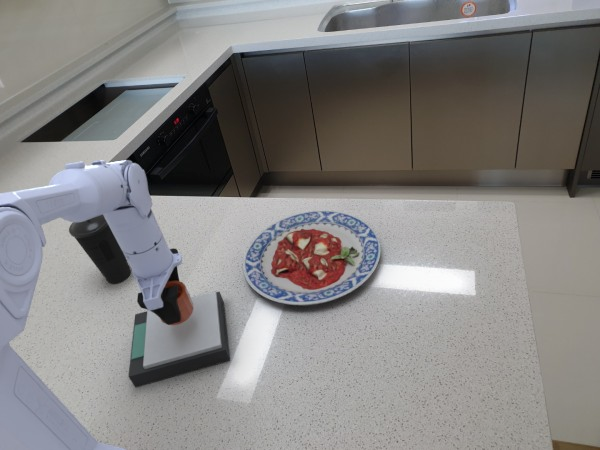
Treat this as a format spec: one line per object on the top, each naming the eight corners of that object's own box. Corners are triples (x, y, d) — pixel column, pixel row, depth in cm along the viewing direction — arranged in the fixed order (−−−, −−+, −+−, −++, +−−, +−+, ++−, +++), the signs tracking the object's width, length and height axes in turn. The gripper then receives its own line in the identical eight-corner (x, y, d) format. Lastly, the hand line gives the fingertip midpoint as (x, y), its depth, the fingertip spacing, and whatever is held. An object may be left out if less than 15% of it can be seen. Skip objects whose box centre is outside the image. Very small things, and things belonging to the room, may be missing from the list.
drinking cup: (143, 261, 95) (103, 180, 83) (128, 288, 89) (82, 205, 77) (110, 263, 97) (66, 183, 85) (93, 289, 91) (42, 208, 79)
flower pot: (160, 330, 70) (149, 311, 67) (161, 305, 74) (151, 285, 71) (194, 321, 70) (185, 301, 67) (194, 296, 74) (185, 276, 72)
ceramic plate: (219, 294, 84) (215, 282, 82) (283, 211, 101) (281, 200, 99) (351, 328, 73) (350, 316, 71) (398, 229, 90) (397, 217, 88)
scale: (135, 387, 71) (126, 373, 69) (140, 324, 81) (133, 311, 79) (230, 360, 72) (224, 346, 70) (223, 302, 82) (218, 288, 80)
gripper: (169, 267, 58) (201, 335, 66) (171, 204, 69) (198, 270, 77) (113, 281, 57) (152, 349, 65) (124, 216, 69) (156, 281, 77)
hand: (174, 307), depth 71 cm, fingers closed on flower pot, 5 cm apart
